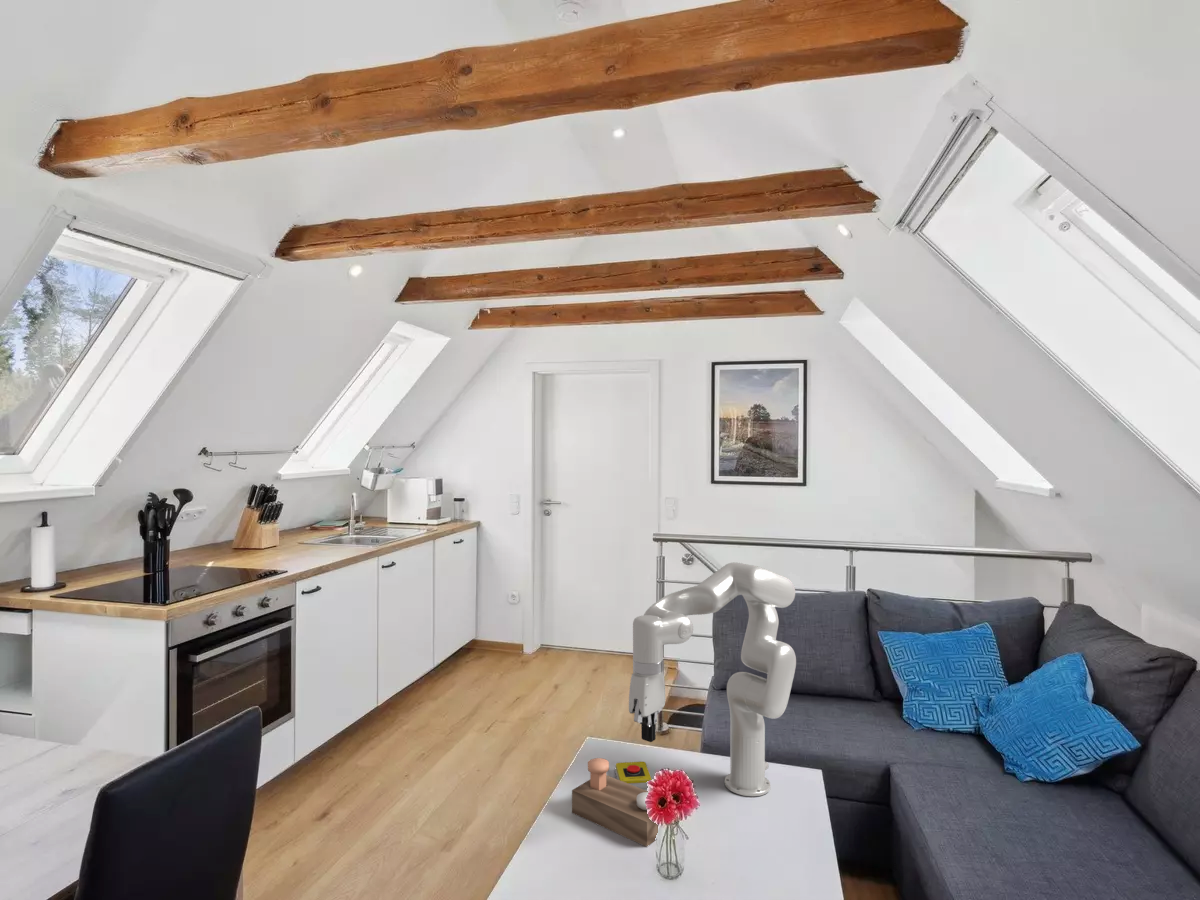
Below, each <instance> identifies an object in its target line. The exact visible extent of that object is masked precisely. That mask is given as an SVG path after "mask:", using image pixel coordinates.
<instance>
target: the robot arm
mask: <svg viewBox="0 0 1200 900" xmlns="http://www.w3.org/2000/svg"><path fill="white" fill-rule="evenodd" d="M738 596H742V597H743V599H744V601H745V603H746V605H747V610H748V619H747V625H746V630H745V634H744V638H743V643H742V646H741V650H740V660H741V662H742V663H743V664H744V666H746V667H748V668H750V669H752V670H755V671H757V672H760V673H764V674H766V675H767V676H766V678H765V677H763V676H760V675H756V674H753V673H751V672H747V671H737V672H735V673H733V674H732V675H731V676H730V677H729V679H728V680H727V683H726V696H727V701H728V702H727V703H728V707H729V715H730V717H729V718H730V720H729V722H730V724H729V725H730V727H729V729H730V730H729V731H730V736H729V737H730V738H729V739H730V740H729V741H730V743H729V744H730V748H729V749H730V751H729V752H730V754H729V757H730V760H729V761H730V763H729V764H730V765H729V767H730V770H729V774H727V775H726V776H725V778H724V786H725V787H726V788H727V790H729V791H730V792H732V793H734V794H736V795H738V796H739V795H740V796H743V797H761V796H764V795H766V794H768V793H769V791H770V790H771V782H770V781H769V779H768V778H767V777H766V776H765V775H766V773H765V772H766V770H768V769H769V767H770V765H769V763H768V762H767V761H766V760H765V759H766V739H765V738H766V734H765V733H766V724H765V720H764V717H765V718H768V719H773V720H774V719H775V720H776V719H778V718H780V717H782V716H783V714H784V712H785V711H786V710H787V708H788V707H787V706H788V703H789V699H790V694H791V690H792V687H793V681H794V677H795V672H796V667H797V657H796V653H795V650H794V648H792V646H791V645H790V644H789V643H786V642H783V641H780V640H777V634H778V629H779V623H780V621H779V616H778V611H777V609H776V608H779V609H784V608H787V607H789V606H790V605H791V604H792V603H793V602H794V600H795V597H796V588H795V585H794V583H793V582H792V581H791V579H790V578H788V577H785V576H784V575H781V574H778V573H777V572H774V571H771V570H770V569H769V570H768V569H766V568H764V567H760V566H757V565H753V564H747V563H742V562H729V563H726V564H725V565H723V566H721V567H720V568H719V569H718V570H717V571H715V572H714V573H712V574H711V575H709V576H708V577H706V579H704V580H703V581H701V582H700V583H698V584H697V585H694V586H689V587H687V588H683V589H680V590H678V591H675V592H671V593H669V594H667V595H665V596H663V597H662V598H660V599H658V600H657V601H656V602H654V603H653V604H652V605H651V606H649V607H648V608H647V610H646V611H645V612H644V614H643V615H639V616H636V617H635V618H634V619H633V621H632V674H631V677H630V683H629V694H628V695H629V696H628V713H629V714H631V715H632V714H634V716H633V721H634V722H636V723H639V724H640V725H641V730H640V731H641V732H640V733H641V740H642V741H645V742H649V743H652V742H654V741H656V738H657V737H656V736H657V735H656V731H657V729H656V727H657V726H656V724H657V722H658V715H659V714H660V712H661V711H662V710H663V708H664V707H665V704H666V684H665V683H666V682H665V675H664V645H680V644H683V643H685V642H687V641H688V640H689V639H691V637H692V635H693V633H694V625H693V622H692V620H691V619H690V618H689V617H688V616H695V615H696V616H699V615H701V616H702V615H709V614H714V613H717V612H719V611H720V610H721V609H723V608H724V607H725V606H726V605H727V604H728V603H730V602H731V601H732V600H734V599H736V598H737V597H738Z"/></svg>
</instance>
